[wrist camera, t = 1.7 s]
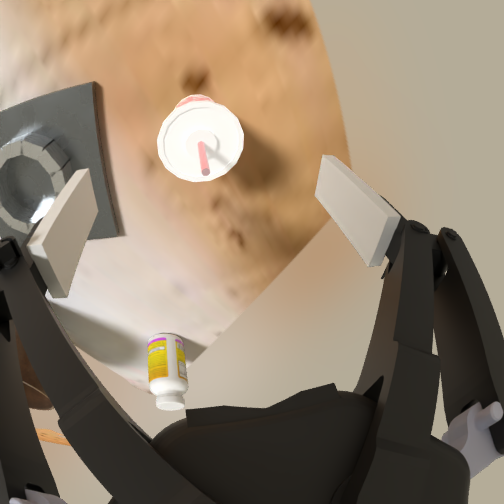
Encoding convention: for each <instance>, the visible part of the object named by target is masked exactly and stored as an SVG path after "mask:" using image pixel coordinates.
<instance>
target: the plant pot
mask: <svg viewBox="0 0 504 504" xmlns="http://www.w3.org/2000/svg"><path fill="white" fill-rule="evenodd" d="M14 325H15V324H14ZM15 336H16V344H17V352H18V358H19V365H20V370H21V376H22V381H23V385H24V390H25V394H26V398H27V402H28V406H29V408H32V409H37V410H52V409H54V406H53V405H52V403H51V401H50V400H49V398H48V396H47V394H46V392H45V391H44V389H43V387H42V385H41V383H40V381H39V379H38V377H37V375H36V373H35V371H34V369H33V367H32V365H31V363H30V361H29V358H28V356H27V354H26V352H25V349H24V347H23V345H22V342H21V340H20V337H19V335H18V332H17V330H16V327H15Z"/></svg>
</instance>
